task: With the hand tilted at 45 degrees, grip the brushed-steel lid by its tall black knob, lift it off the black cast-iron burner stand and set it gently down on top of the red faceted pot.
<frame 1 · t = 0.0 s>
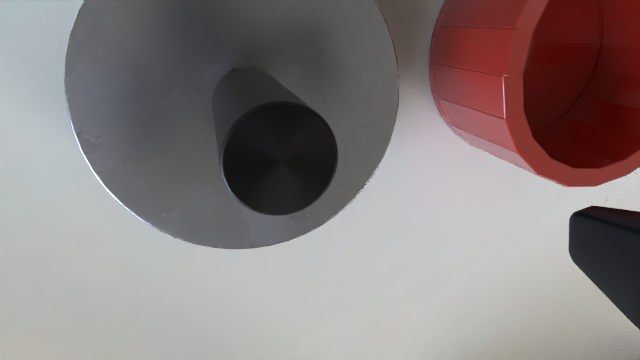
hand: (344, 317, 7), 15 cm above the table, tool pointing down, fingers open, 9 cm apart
lid: (246, 101, 17), point 3 cm above the table, touching burner stand
red faceted pot: (520, 52, 23), on the table
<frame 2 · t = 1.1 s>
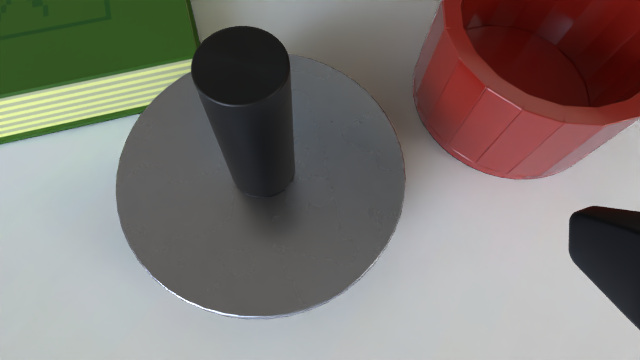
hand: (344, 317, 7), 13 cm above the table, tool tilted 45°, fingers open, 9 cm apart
lid: (264, 174, 19), point 3 cm above the table, touching burner stand
red faceted pot: (504, 94, 25), on the table
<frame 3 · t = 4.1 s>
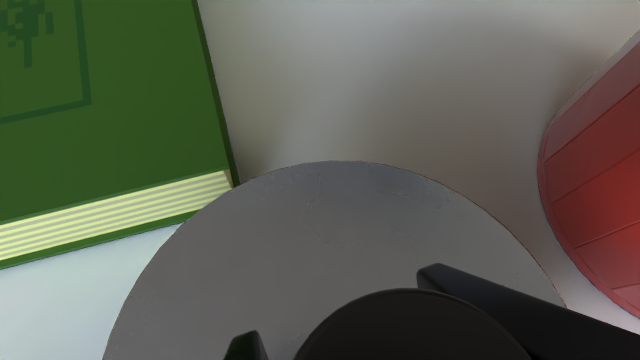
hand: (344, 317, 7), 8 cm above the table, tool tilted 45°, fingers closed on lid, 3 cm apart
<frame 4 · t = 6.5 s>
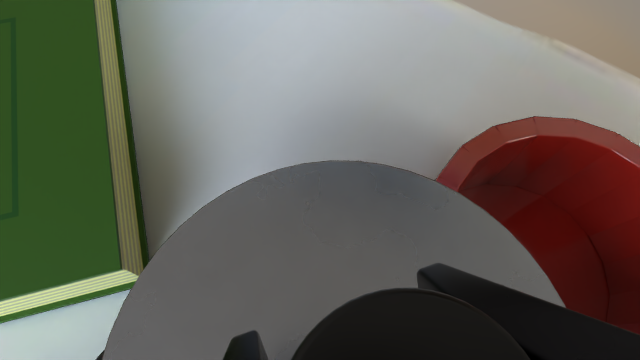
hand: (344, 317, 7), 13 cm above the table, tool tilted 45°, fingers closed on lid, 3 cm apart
red faceted pot: (505, 276, 21), on the table
when the fingers open (11 cm above the table, at t = 9.2 s): lid stays where it is, resting on red faceted pot.
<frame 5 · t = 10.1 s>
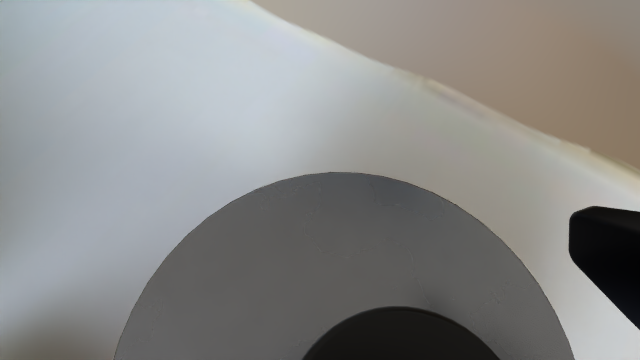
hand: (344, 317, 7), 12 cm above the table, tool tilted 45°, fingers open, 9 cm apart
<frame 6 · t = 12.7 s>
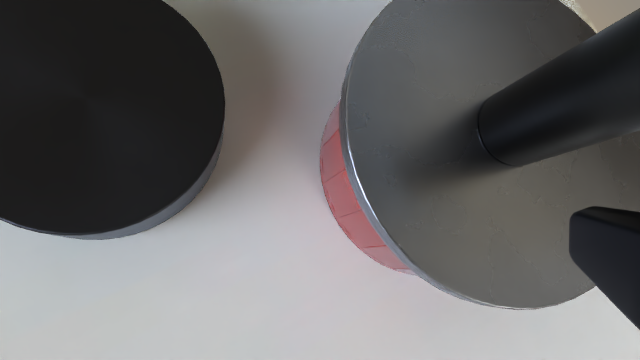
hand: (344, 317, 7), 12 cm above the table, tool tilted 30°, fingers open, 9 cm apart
lid: (497, 135, 16), point 6 cm above the table, touching red faceted pot
burner stand: (104, 123, 18), on the table
red faceted pot: (422, 166, 22), on the table
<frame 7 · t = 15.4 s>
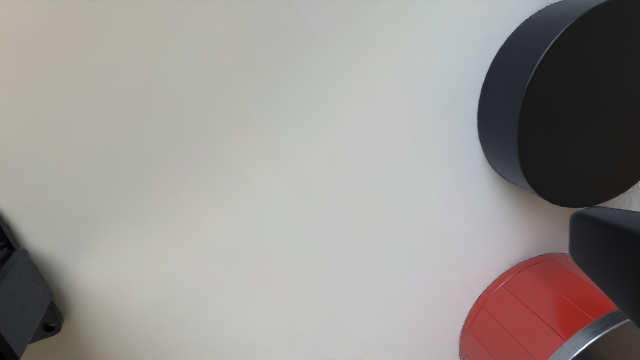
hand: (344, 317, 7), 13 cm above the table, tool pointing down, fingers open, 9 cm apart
burner stand: (559, 99, 23), on the table
red faceted pot: (532, 324, 28), on the table
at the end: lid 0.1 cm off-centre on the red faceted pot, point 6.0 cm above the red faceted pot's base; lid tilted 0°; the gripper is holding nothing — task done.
